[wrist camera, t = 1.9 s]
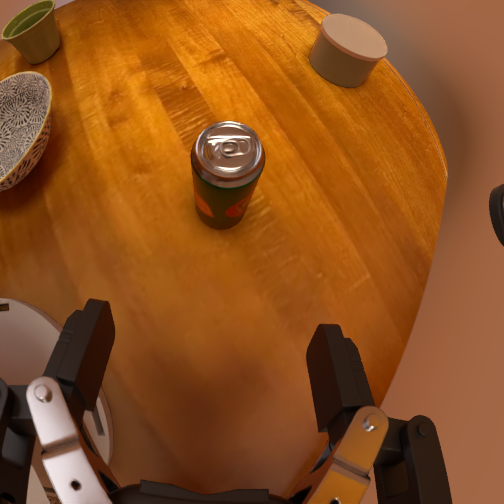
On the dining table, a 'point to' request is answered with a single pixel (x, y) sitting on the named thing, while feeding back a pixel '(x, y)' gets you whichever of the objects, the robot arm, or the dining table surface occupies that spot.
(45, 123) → the bowl
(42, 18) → the plant pot
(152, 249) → the dining table surface
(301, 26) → the dining table surface
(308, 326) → the dining table surface
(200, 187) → the soda can
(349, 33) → the canister
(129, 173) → the dining table surface
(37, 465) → the vase
